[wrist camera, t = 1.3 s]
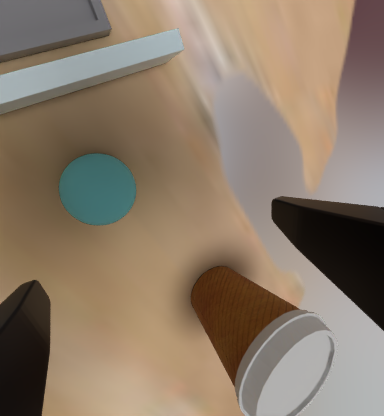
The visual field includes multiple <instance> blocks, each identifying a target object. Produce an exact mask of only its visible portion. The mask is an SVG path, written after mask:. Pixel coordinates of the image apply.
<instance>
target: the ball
mask: <svg viewBox="0 0 384 416" xmlns="http://www.w3.org/2000/svg"><path fill="white" fill-rule="evenodd" d="M59 194H60V199H61V201H62V204H63V206H64V207H65V209H66V210H67V211H68V212H69V213H70V214H71V215H72V216H73V217H74V218H76V219H77V220H79V221H81V222H83V223H86V224H90V225H107V224H111V223H114V222H116V221H118V220H120V219H121V218H122V217H124V216H125V215H126V214H127V213H128V212H129V210H130V209H131V207H132V206H133V203H134V201H135V197H136V184H135V180H134V177H133V175H132V173H131V171H130V170H129V169H128V167H127V166H126V165H125V164H124V163H122V162H121V161H120V160H118V159H117V158H115V157H112V156H110V155H106V154H99V153H94V154H87V155H83V156H81V157H79V158H77V159H75V160H74V161H72V162H71V163H70V164H69V165H68V166H67V167H66V168H65V170H64V171H63V173H62V175H61V178H60V182H59Z"/></svg>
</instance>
